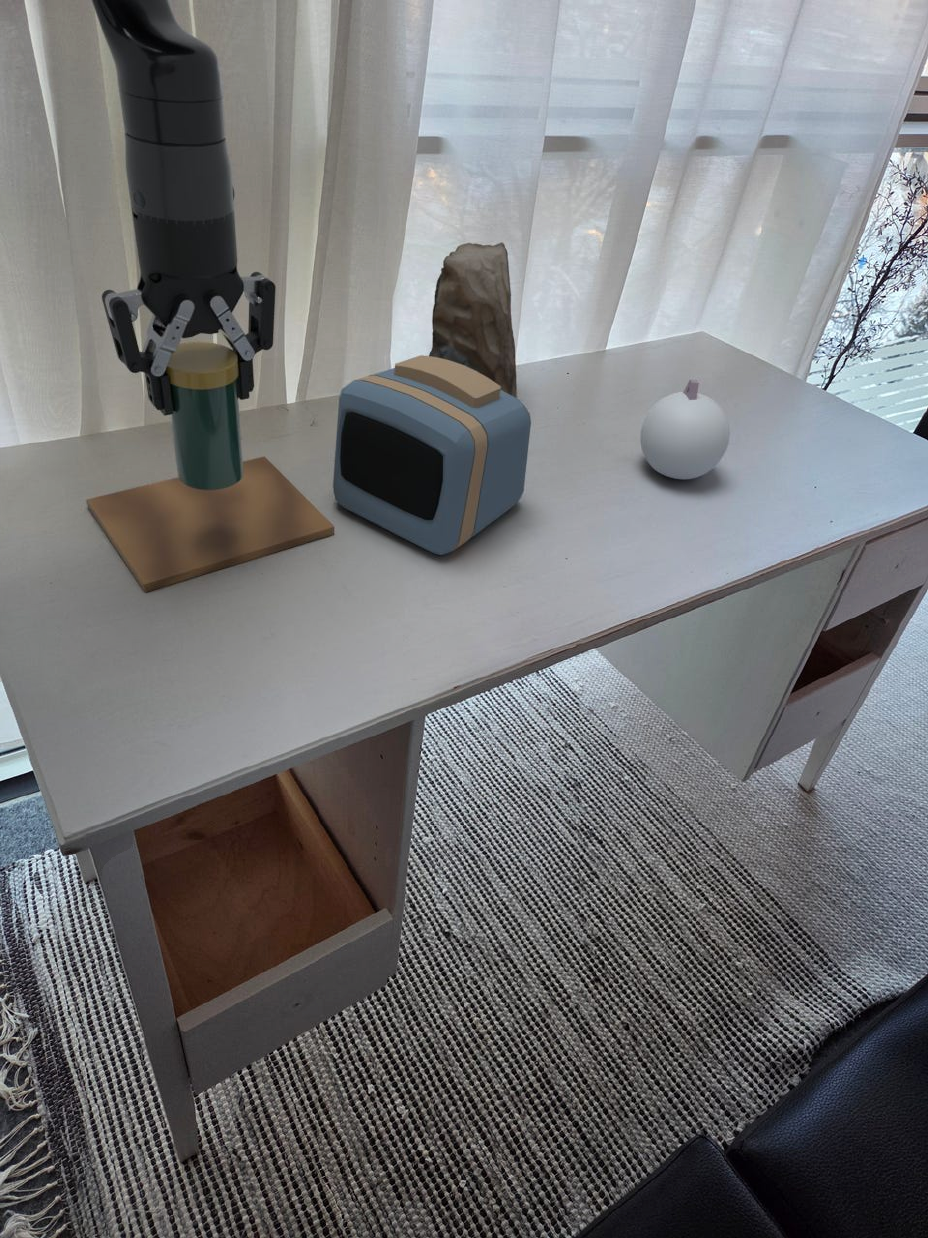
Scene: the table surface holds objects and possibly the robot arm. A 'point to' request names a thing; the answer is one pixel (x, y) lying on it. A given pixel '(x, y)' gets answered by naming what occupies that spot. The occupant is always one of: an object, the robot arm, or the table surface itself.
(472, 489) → the alarm clock
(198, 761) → the table surface
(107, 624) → the table surface
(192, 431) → the jar
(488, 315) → the jagged brown rock
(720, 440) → the ornament
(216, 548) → the cork mat
